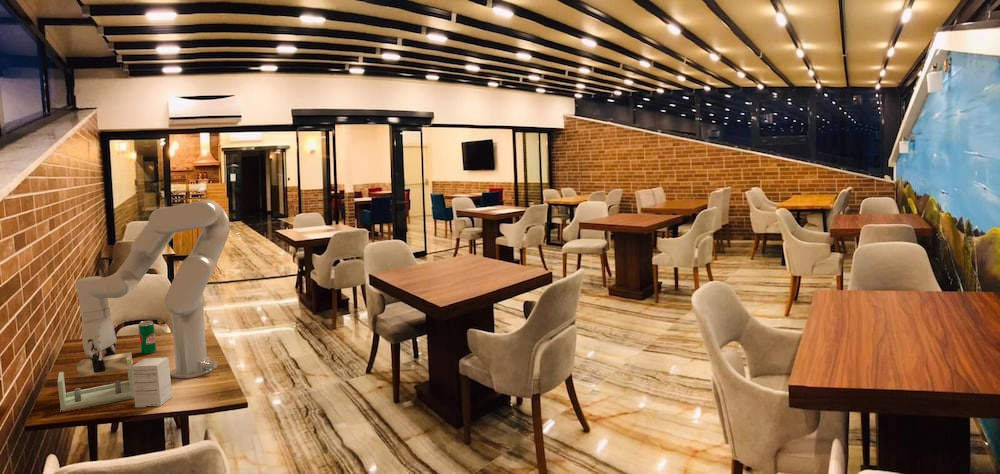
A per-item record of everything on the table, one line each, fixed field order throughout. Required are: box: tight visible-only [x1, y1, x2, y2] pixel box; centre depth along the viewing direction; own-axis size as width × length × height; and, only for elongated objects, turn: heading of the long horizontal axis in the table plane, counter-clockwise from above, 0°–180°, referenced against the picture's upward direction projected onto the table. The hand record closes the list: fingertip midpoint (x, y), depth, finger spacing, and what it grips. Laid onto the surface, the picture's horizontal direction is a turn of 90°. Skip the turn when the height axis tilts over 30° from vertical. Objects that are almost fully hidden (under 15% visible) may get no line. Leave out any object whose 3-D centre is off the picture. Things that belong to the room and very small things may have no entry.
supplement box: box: [131, 356, 173, 408], centre depth 167 cm, size 7×7×13 cm
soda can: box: [137, 320, 157, 355], centre depth 215 cm, size 5×5×12 cm
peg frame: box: [57, 360, 134, 411], centre depth 170 cm, size 18×12×9 cm, turn 126°
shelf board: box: [75, 352, 134, 377], centre depth 183 cm, size 14×5×4 cm, turn 107°
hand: (105, 367), depth 183 cm, fingers closed on shelf board, 5 cm apart
